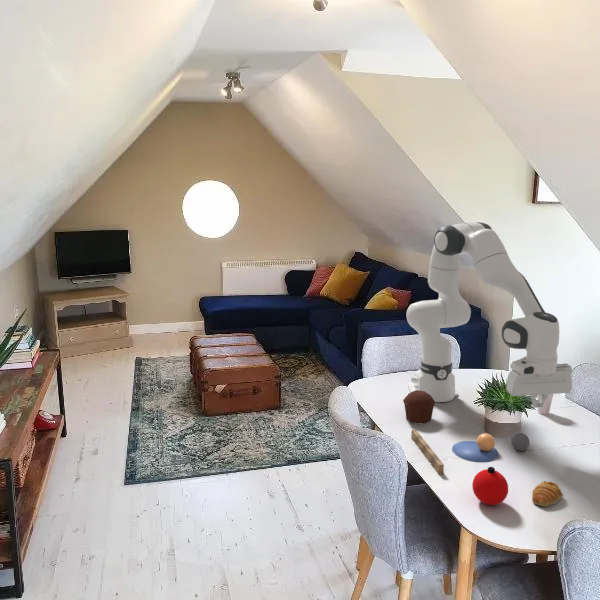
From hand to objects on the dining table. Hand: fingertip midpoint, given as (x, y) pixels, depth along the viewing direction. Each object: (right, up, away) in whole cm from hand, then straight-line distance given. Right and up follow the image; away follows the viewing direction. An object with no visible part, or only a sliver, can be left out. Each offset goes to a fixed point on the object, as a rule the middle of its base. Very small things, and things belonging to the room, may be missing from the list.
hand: (537, 406), depth 177 cm
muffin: (-32, -9, +25) cm, 42 cm away
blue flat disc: (-20, -14, 0) cm, 24 cm away
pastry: (-9, -20, -27) cm, 34 cm away
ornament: (-25, -20, -28) cm, 43 cm away
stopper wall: (-36, -15, -2) cm, 38 cm away
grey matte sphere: (-5, -11, 0) cm, 12 cm away
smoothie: (+14, -8, +29) cm, 34 cm away
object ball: (-16, -11, 0) cm, 20 cm away
